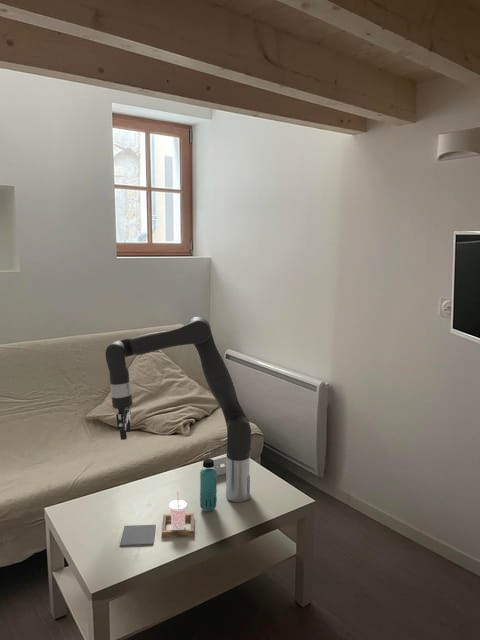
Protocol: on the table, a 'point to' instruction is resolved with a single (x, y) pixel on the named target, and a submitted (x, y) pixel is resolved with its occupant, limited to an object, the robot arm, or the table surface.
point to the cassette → (217, 466)
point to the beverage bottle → (208, 486)
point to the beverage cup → (178, 513)
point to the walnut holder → (177, 532)
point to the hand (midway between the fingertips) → (126, 435)
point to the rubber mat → (138, 535)
